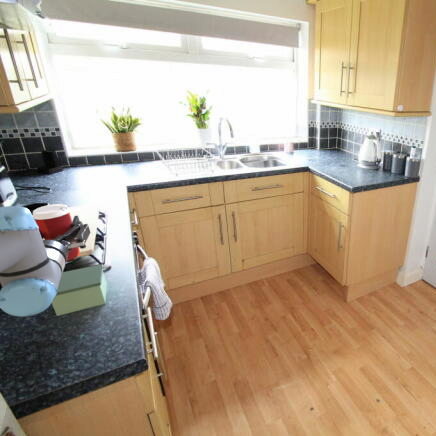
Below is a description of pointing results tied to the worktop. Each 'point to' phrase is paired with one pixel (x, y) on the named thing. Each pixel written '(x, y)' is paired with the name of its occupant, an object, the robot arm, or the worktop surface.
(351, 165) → the worktop surface
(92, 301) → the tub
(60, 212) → the paper cup
